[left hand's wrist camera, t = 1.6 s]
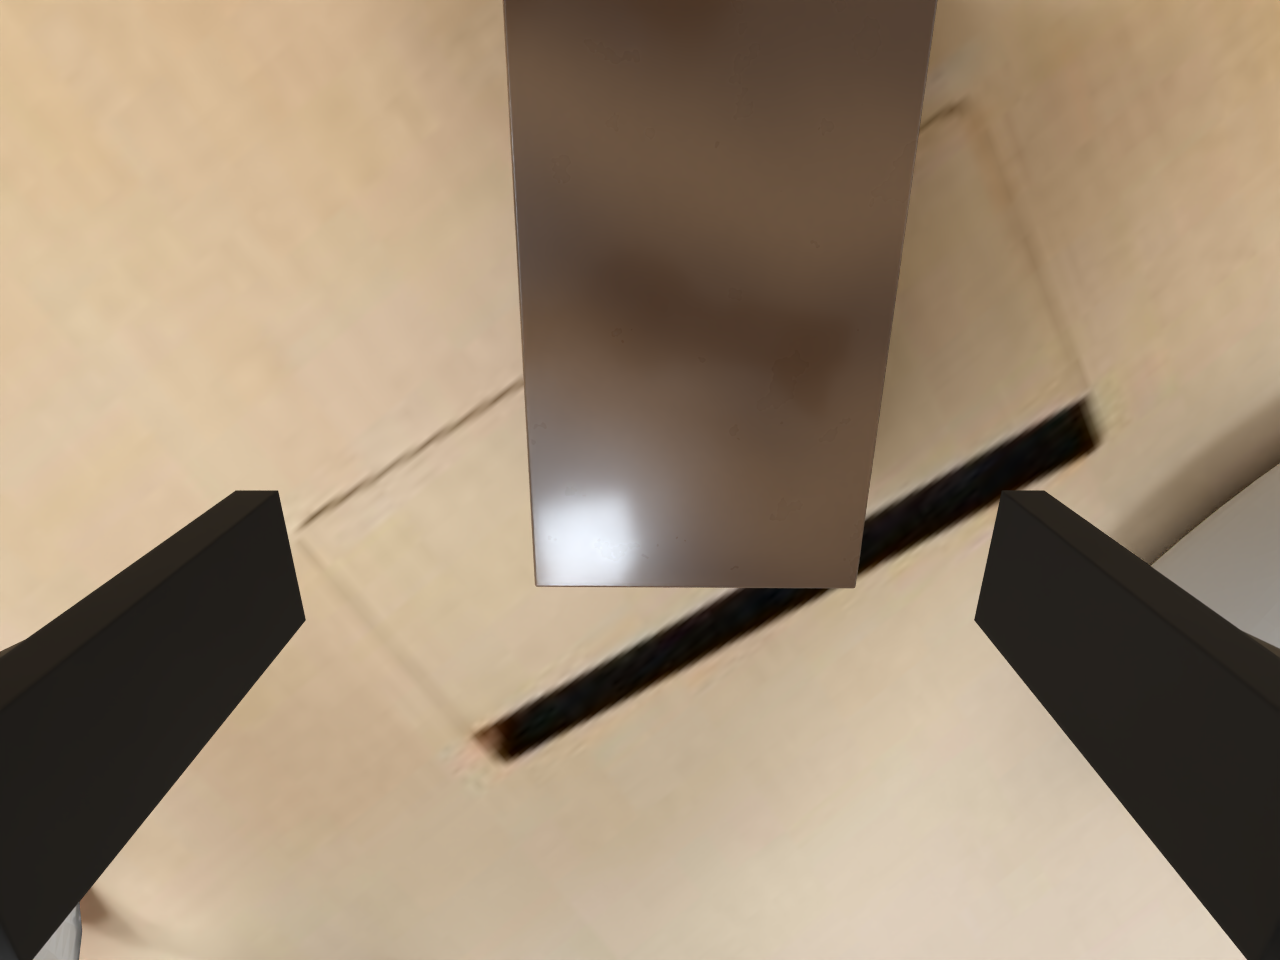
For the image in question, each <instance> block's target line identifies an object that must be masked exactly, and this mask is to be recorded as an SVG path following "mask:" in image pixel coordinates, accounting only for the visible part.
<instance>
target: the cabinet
mask: <svg viewBox="0 0 1280 960" xmlns="http://www.w3.org/2000/svg"><path fill="white" fill-rule="evenodd" d="M936 6H937V0H503V12H504V31H505V49H506V67H507V85H508V103H509V122H510V140H511V158H512V176H513V194H514V212H515V231H516V249H517V267H518V285H519V303H520V321H521V340H522V358H523V376H524V394H525V412H526V430H527V449H528V467H529V485H530V503H531V521H532V539H533V558H534V576H535V585H536V586H537V587H715V588H855V586H856V579H857V572H858V564H859V557H860V550H861V543H862V536H863V529H864V521H865V514H866V507H867V500H868V493H869V486H870V479H871V471H872V464H873V457H874V450H875V443H876V436H877V428H878V421H879V414H880V407H881V400H882V393H883V386H884V378H885V371H886V364H887V357H888V350H889V343H890V335H891V328H892V321H893V314H894V307H895V300H896V293H897V285H898V278H899V271H900V264H901V257H902V250H903V242H904V235H905V228H906V221H907V214H908V207H909V200H910V192H911V185H912V178H913V171H914V164H915V157H916V149H917V142H918V135H919V128H920V121H921V114H922V107H923V99H924V92H925V85H926V78H927V71H928V64H929V56H930V49H931V42H932V35H933V28H934V21H935V14H936Z"/></svg>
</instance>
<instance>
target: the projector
mask: <svg viewBox="0 0 1280 960" xmlns="http://www.w3.org/2000/svg"><path fill="white" fill-rule="evenodd" d="M1151 567H1153V568H1154V569H1155V570H1157V571H1158V572H1160V573H1161V574H1163V575H1164V576H1165V577H1167V578H1168V579H1170V580H1171V581H1172V582H1174V583H1175V584H1177V585H1178V586H1179V587H1181V588H1182V589H1184V590H1185V591H1187V592H1188V593H1189V594H1191V595H1192V596H1194V597H1195V598H1196V599H1198V600H1199V601H1201V602H1202V603H1203V604H1205V605H1206V606H1208V607H1209V608H1210V609H1212V610H1213V611H1215V612H1216V613H1218V614H1219V615H1220V616H1222V617H1223V618H1225V619H1226V620H1227V621H1229V622H1230V623H1232V624H1233V625H1234V626H1236V627H1237V628H1239V629H1240V630H1242V631H1244V632H1246V633H1248V634H1250V635H1252V636H1254V637H1256V638H1259V639H1261V640H1263V641H1265V642H1267V643H1269V644H1271V645H1273V646H1275V647H1278V648H1280V463H1279V464H1278V465H1276V466H1275V467H1274V468H1272V469H1271V470H1269V471H1268V472H1267V473H1265V474H1264V475H1262V476H1261V477H1260V478H1258V479H1257V480H1256V481H1254V482H1253V483H1252V484H1250V485H1249V486H1248V487H1246V488H1245V489H1244V490H1243V491H1241V492H1240V493H1239V494H1237V495H1236V496H1235V497H1233V498H1232V499H1231V500H1229V501H1228V502H1227V503H1225V504H1224V505H1223V506H1222V507H1220V508H1219V509H1218V510H1216V511H1215V512H1214V513H1213V514H1212V515H1210V516H1209V517H1208V518H1207V519H1205V520H1204V521H1203V522H1202V523H1200V524H1199V525H1198V526H1197V527H1196V528H1194V529H1193V530H1192V531H1191V532H1189V533H1188V534H1187V535H1186V536H1184V537H1183V538H1182V539H1181V540H1180V541H1179V542H1177V543H1176V544H1175V545H1174V546H1173V547H1172V548H1171V549H1169V550H1168V551H1167V552H1166V553H1165V554H1164V555H1162V556H1161V557H1160V558H1159V559H1158V560H1157V561H1156V562H1154V563H1153V564H1152V565H1151Z"/></svg>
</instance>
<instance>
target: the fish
mask: <svg viewBox="0 0 1280 960" xmlns="http://www.w3.org/2000/svg"><path fill="white" fill-rule="evenodd" d="M81 936H82V925H81V914H80V904H79V903H78V904H77V905H76V907H75V908H74V909H73V910H72V912H71V913H70V914H69V915H68V917H67V918H66V919H65V920H64V921H63V923H62V924H61V925H60V926H59V928H58V929H57V930H56V931H55V933H54V934H53V935H52V936H51V938H50V939H49V940H48V941H47V943H46V944H45V945H44V946H43V948H42V949H41V950H40V951H39V953H38V954H37V955H36V956H35V958H34V959H33V960H79V954H80V945H81Z"/></svg>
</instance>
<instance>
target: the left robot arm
mask: <svg viewBox="0 0 1280 960" xmlns="http://www.w3.org/2000/svg"><path fill="white" fill-rule="evenodd" d="M305 620H306V619H305V615H304V610H303V605H302V600H301V596H300V591H299V586H298V582H297V577H296V572H295V568H294V563H293V558H292V554H291V549H290V544H289V540H288V535H287V530H286V525H285V521H284V516H283V511H282V507H281V502H280V497H279V493H278V491H235V492H233V493H232V494H230V495H229V496H228V497H226V498H225V499H223V500H222V501H220V502H219V503H218V504H216V505H215V506H213V507H212V508H211V509H209V510H208V511H206V512H205V513H204V514H202V515H201V516H199V517H198V518H196V519H195V520H194V521H192V522H191V523H189V524H188V525H187V526H185V527H184V528H182V529H181V530H180V531H178V532H177V533H175V534H174V535H172V536H171V537H170V538H168V539H167V540H165V541H164V542H163V543H161V544H160V545H158V546H157V547H156V548H154V549H153V550H151V551H150V552H149V553H147V554H146V555H144V556H143V557H141V558H140V559H139V560H137V561H136V562H134V563H133V564H132V565H130V566H129V567H127V568H126V569H125V570H123V571H122V572H120V573H119V574H117V575H116V576H115V577H113V578H112V579H110V580H109V581H108V582H106V583H105V584H103V585H102V586H101V587H99V588H98V589H96V590H95V591H93V592H92V593H91V594H89V595H88V596H86V597H85V598H84V599H82V600H81V601H79V602H78V603H77V604H75V605H74V606H72V607H71V608H70V609H68V610H67V611H65V612H64V613H62V614H61V615H60V616H58V617H57V618H55V619H54V620H53V621H51V622H50V623H48V624H47V625H46V626H44V627H43V628H41V629H40V630H38V631H37V632H36V633H34V634H33V635H31V636H30V637H29V638H27V639H26V640H24V641H21V642H19V643H17V644H15V645H13V646H11V647H9V648H7V649H5V650H3V651H1V652H0V960H33V959H34V958H35V956H36V955H37V954H38V953H39V951H40V950H41V949H42V948H43V946H44V945H45V944H46V943H47V941H48V940H49V939H50V938H51V936H52V935H53V934H54V933H55V931H56V930H57V929H58V928H59V926H60V925H61V924H62V923H63V921H64V920H65V919H66V918H67V917H68V915H69V914H70V913H71V912H72V910H73V909H74V908H75V907H76V905H77V904H78V903H79V902H80V900H81V899H82V898H83V897H84V895H85V894H86V893H87V892H88V890H89V889H90V888H91V887H92V885H93V884H94V883H95V882H96V880H97V879H98V878H99V877H100V875H101V874H102V873H103V872H104V870H105V869H106V868H107V867H108V865H109V864H110V863H111V862H112V861H113V859H114V858H115V857H116V856H117V854H118V853H119V852H120V851H121V849H122V848H123V847H124V846H125V844H126V843H127V842H128V841H129V839H130V838H131V837H132V836H133V834H134V833H135V832H136V831H137V829H138V828H139V827H140V826H141V824H142V823H143V822H144V821H145V819H146V818H147V817H148V816H149V814H150V813H151V812H152V811H153V810H154V808H155V807H156V806H157V805H158V803H159V802H160V801H161V800H162V798H163V797H164V796H165V795H166V793H167V792H168V791H169V790H170V788H171V787H172V786H173V785H174V783H175V782H176V781H177V780H178V778H179V777H180V776H181V775H182V773H183V772H184V771H185V770H186V768H187V767H188V766H189V765H190V763H191V762H192V761H193V760H194V758H195V757H196V756H197V755H198V754H199V752H200V751H201V750H202V749H203V747H204V746H205V745H206V744H207V742H208V741H209V740H210V739H211V737H212V736H213V735H214V734H215V732H216V731H217V730H218V729H219V727H220V726H221V725H222V724H223V722H224V721H225V720H226V719H227V717H228V716H229V715H230V714H231V712H232V711H233V710H234V709H235V707H236V706H237V705H238V704H239V702H240V701H241V700H242V699H243V698H244V696H245V695H246V694H247V693H248V691H249V690H250V689H251V688H252V686H253V685H254V684H255V683H256V681H257V680H258V679H259V678H260V676H261V675H262V674H263V673H264V671H265V670H266V669H267V668H268V666H269V665H270V664H271V663H272V661H273V660H274V659H275V658H276V656H277V655H278V654H279V653H280V651H281V650H282V649H283V648H284V646H285V645H286V644H287V643H288V642H289V640H290V639H291V638H292V637H293V635H294V634H295V633H296V632H297V630H298V629H299V628H300V627H301V625H302V624H303V623H304V622H305ZM974 620H975V622H976V623H977V624H978V625H979V627H980V628H981V629H982V630H983V632H984V633H985V634H986V635H987V637H988V638H989V639H990V640H991V642H992V643H993V644H994V645H995V646H996V648H997V649H998V650H999V651H1000V653H1001V654H1002V655H1003V656H1004V658H1005V659H1006V660H1007V661H1008V663H1009V664H1010V665H1011V666H1012V668H1013V669H1014V670H1015V671H1016V673H1017V674H1018V675H1019V676H1020V678H1021V679H1022V680H1023V681H1024V683H1025V684H1026V685H1027V686H1028V688H1029V689H1030V690H1031V691H1032V693H1033V694H1034V695H1035V696H1036V698H1037V699H1038V700H1039V701H1040V702H1041V704H1042V705H1043V706H1044V707H1045V709H1046V710H1047V711H1048V712H1049V714H1050V715H1051V716H1052V717H1053V719H1054V720H1055V721H1056V722H1057V724H1058V725H1059V726H1060V727H1061V729H1062V730H1063V731H1064V732H1065V734H1066V735H1067V736H1068V737H1069V739H1070V740H1071V741H1072V742H1073V744H1074V745H1075V746H1076V747H1077V749H1078V750H1079V751H1080V752H1081V754H1082V755H1083V756H1084V757H1085V758H1086V760H1087V761H1088V762H1089V763H1090V765H1091V766H1092V767H1093V768H1094V770H1095V771H1096V772H1097V773H1098V775H1099V776H1100V777H1101V778H1102V780H1103V781H1104V782H1105V783H1106V785H1107V786H1108V787H1109V788H1110V790H1111V791H1112V792H1113V793H1114V795H1115V796H1116V797H1117V798H1118V800H1119V801H1120V802H1121V803H1122V805H1123V806H1124V807H1125V808H1126V810H1127V811H1128V812H1129V813H1130V814H1131V816H1132V817H1133V818H1134V819H1135V821H1136V822H1137V823H1138V824H1139V826H1140V827H1141V828H1142V829H1143V831H1144V832H1145V833H1146V834H1147V836H1148V837H1149V838H1150V839H1151V841H1152V842H1153V843H1154V844H1155V846H1156V847H1157V848H1158V849H1159V851H1160V852H1161V853H1162V854H1163V856H1164V857H1165V858H1166V859H1167V861H1168V862H1169V863H1170V864H1171V865H1172V867H1173V868H1174V869H1175V870H1176V872H1177V873H1178V874H1179V875H1180V877H1181V878H1182V879H1183V880H1184V882H1185V883H1186V884H1187V885H1188V887H1189V888H1190V889H1191V890H1192V892H1193V893H1194V894H1195V895H1196V897H1197V898H1198V899H1199V900H1200V902H1201V903H1202V904H1203V905H1204V907H1205V908H1206V909H1207V910H1208V912H1209V913H1210V914H1211V915H1212V917H1213V918H1214V919H1215V920H1216V921H1217V923H1218V924H1219V925H1220V926H1221V928H1222V929H1223V930H1224V931H1225V933H1226V934H1227V935H1228V936H1229V938H1230V939H1231V940H1232V941H1233V943H1234V944H1235V945H1236V946H1237V948H1238V949H1239V950H1240V951H1241V953H1242V954H1243V955H1244V956H1245V958H1246V959H1247V960H1280V648H1278V647H1275V646H1273V645H1271V644H1269V643H1267V642H1265V641H1263V640H1261V639H1259V638H1256V637H1254V636H1252V635H1250V634H1248V633H1246V632H1244V631H1242V630H1240V629H1239V628H1237V627H1236V626H1234V625H1233V624H1232V623H1230V622H1229V621H1227V620H1226V619H1225V618H1223V617H1222V616H1220V615H1219V614H1218V613H1216V612H1215V611H1213V610H1212V609H1210V608H1209V607H1208V606H1206V605H1205V604H1203V603H1202V602H1201V601H1199V600H1198V599H1196V598H1195V597H1194V596H1192V595H1191V594H1189V593H1188V592H1187V591H1185V590H1184V589H1182V588H1181V587H1179V586H1178V585H1177V584H1175V583H1174V582H1172V581H1171V580H1170V579H1168V578H1167V577H1165V576H1164V575H1163V574H1161V573H1160V572H1158V571H1157V570H1155V569H1154V568H1153V567H1151V566H1150V565H1148V564H1147V563H1146V562H1144V561H1143V560H1141V559H1140V558H1139V557H1137V556H1136V555H1134V554H1133V553H1131V552H1130V551H1129V550H1127V549H1126V548H1124V547H1123V546H1122V545H1120V544H1119V543H1117V542H1116V541H1115V540H1113V539H1112V538H1110V537H1109V536H1108V535H1106V534H1105V533H1103V532H1102V531H1100V530H1099V529H1098V528H1096V527H1095V526H1093V525H1092V524H1091V523H1089V522H1088V521H1086V520H1085V519H1084V518H1082V517H1081V516H1079V515H1078V514H1076V513H1075V512H1074V511H1072V510H1071V509H1069V508H1068V507H1067V506H1065V505H1064V504H1062V503H1061V502H1060V501H1058V500H1057V499H1055V498H1054V497H1052V496H1051V495H1050V494H1048V493H1047V492H1045V491H1002V493H1001V497H1000V502H999V507H998V511H997V516H996V521H995V525H994V530H993V535H992V540H991V544H990V549H989V554H988V558H987V563H986V568H985V572H984V577H983V582H982V586H981V591H980V596H979V600H978V605H977V610H976V615H975V619H974Z"/></svg>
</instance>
